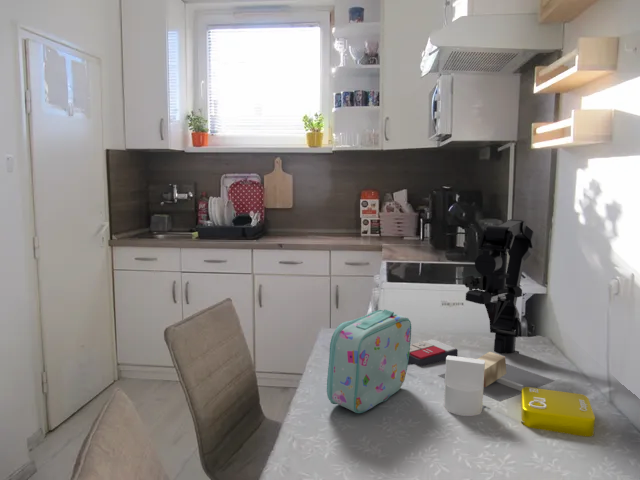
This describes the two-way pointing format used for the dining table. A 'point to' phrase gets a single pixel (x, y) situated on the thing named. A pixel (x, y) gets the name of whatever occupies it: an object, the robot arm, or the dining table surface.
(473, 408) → the cylinder with rectangular tab
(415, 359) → the calculator
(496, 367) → the beech block
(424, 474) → the dining table surface
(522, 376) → the mat
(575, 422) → the element tile
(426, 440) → the dining table surface
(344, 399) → the lunch box
